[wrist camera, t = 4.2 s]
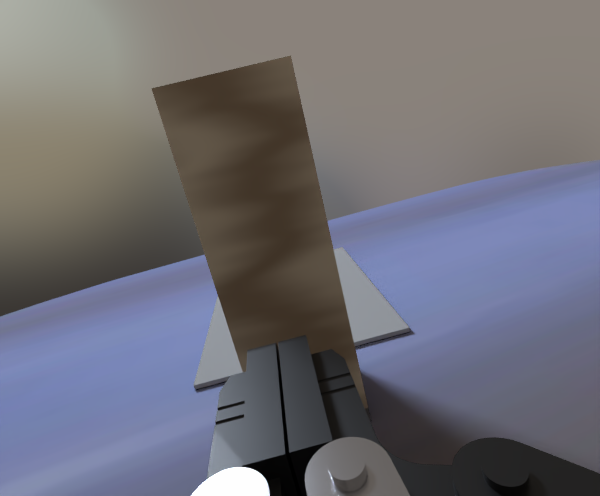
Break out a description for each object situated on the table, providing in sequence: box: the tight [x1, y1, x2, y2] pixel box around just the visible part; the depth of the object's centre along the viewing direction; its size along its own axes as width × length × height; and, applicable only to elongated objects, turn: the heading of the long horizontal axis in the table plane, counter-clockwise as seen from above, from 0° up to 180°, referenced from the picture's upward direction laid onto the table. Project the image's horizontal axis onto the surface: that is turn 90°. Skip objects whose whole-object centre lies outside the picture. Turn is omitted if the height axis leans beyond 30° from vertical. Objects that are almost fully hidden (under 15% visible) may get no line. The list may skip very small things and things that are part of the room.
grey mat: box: [194, 247, 410, 389], centre depth 34 cm, size 14×20×1 cm
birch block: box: [152, 56, 371, 422], centre depth 18 cm, size 5×5×16 cm
